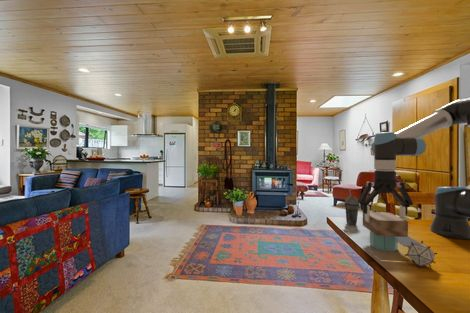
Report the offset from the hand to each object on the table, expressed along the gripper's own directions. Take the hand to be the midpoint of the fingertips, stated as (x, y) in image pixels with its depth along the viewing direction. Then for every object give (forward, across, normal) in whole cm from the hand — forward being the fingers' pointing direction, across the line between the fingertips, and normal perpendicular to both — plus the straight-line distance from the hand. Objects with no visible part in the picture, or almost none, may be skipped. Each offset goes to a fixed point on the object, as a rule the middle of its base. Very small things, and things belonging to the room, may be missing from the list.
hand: (384, 221), depth 96 cm
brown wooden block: (+4, 0, 0) cm, 4 cm away
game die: (+11, -4, +15) cm, 19 cm away
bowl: (+11, 0, 0) cm, 11 cm away
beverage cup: (+11, +2, -30) cm, 32 cm away
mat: (+11, -13, -9) cm, 19 cm away
